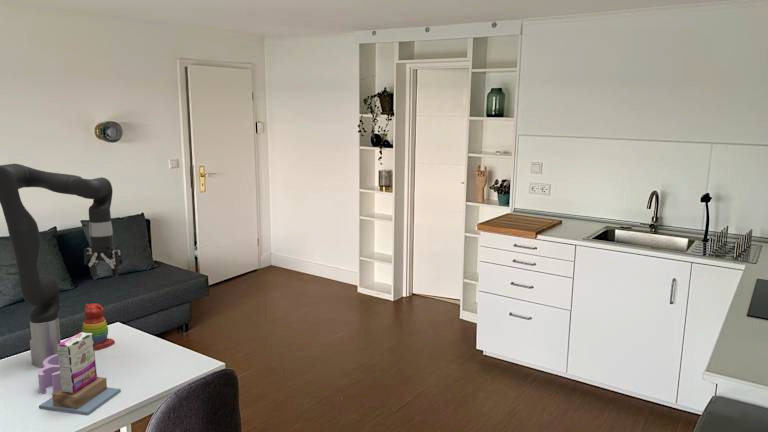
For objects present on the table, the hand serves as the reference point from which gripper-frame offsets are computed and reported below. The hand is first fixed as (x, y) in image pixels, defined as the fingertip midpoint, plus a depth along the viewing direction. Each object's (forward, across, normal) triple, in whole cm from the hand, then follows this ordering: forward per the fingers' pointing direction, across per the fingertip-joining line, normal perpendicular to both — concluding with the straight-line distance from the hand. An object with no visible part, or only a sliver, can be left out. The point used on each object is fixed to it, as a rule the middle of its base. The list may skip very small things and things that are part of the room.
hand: (104, 276), depth 216 cm
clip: (+34, -9, -15) cm, 39 cm away
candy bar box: (+29, +8, -26) cm, 40 cm away
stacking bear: (+34, -17, +14) cm, 41 cm away
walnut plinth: (+33, +8, -26) cm, 43 cm away
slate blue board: (+34, +8, -26) cm, 44 cm away
